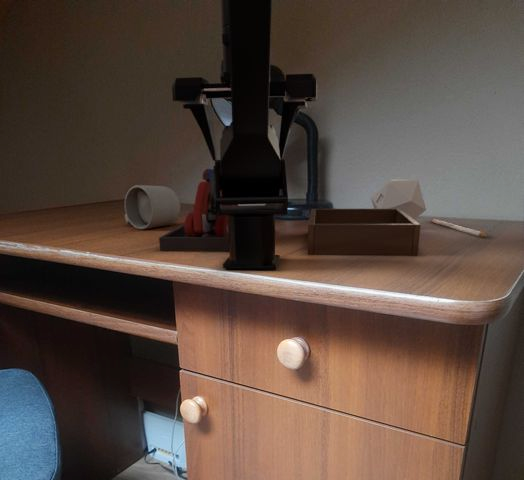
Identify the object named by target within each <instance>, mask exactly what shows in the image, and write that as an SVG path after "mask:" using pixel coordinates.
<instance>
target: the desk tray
mask: <svg viewBox="0 0 524 480" xmlns="http://www.w3.org/2000/svg"><path fill="white" fill-rule="evenodd" d="M158 243H159V251H160V252H161V251H162V252H229V237H216V234H214V235H210V234H203V235H202V237H188V236H187V234H186V232H185V223H183V224H181V225H180V226H178V227H176V228H174V229H172V230H170V231H168V232H167V233H165V234H163V235H161V236H159V237H158Z"/></svg>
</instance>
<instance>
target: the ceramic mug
mask: <svg viewBox="0 0 524 480" xmlns="http://www.w3.org/2000/svg"><path fill="white" fill-rule="evenodd" d="M124 197H125V198H124V211H125V214H124V219H125V222H126V224H127V225H129V226H132V227H134V228H135V229H137V230H143V231H144V230H149V229H154V228H160V227H166V226H170V225H172V224H174V223H176V222H177V220H178V219H179V217H180V215H181V211H182V203H181V199H180V197H179V195H178V194H177V192H176V191H175V190H173V188H170V187H168V186H163V185H142V184H136V185H134V186H132V187H130V188H129V189H128V190H127V193H126V194H125V196H124Z"/></svg>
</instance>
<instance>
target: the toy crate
mask: <svg viewBox="0 0 524 480" xmlns="http://www.w3.org/2000/svg"><path fill="white" fill-rule="evenodd" d="M308 219H309V220H308V223H307V255H341V256H342V255H345V256H346V255H347V256H348V255H349V256H351V255H352V256H355V255H356V256H418V254H419V248H420V247H419V245H420V238H421V226H422V225H421V223H419V222H418V221H417V220H416V219H415V220H414V219H413V218H411V217H410V216H409V215H408V214H406V213H405V212H404V211H403V210H401V209H374V208H311V209H310V214H309V218H308Z"/></svg>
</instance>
